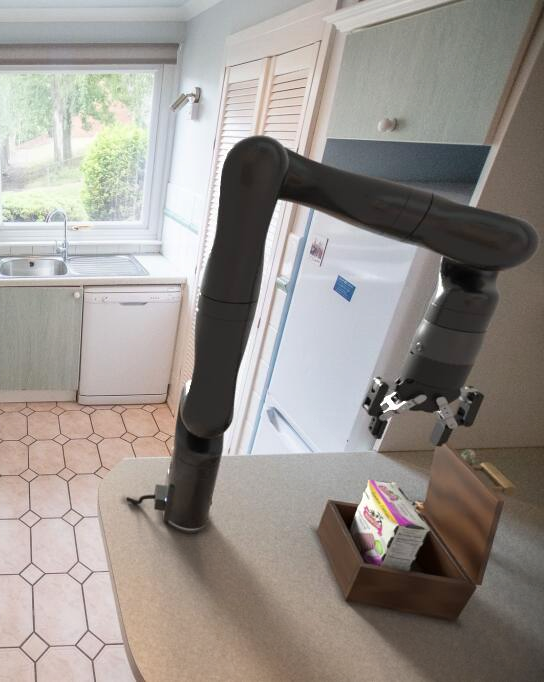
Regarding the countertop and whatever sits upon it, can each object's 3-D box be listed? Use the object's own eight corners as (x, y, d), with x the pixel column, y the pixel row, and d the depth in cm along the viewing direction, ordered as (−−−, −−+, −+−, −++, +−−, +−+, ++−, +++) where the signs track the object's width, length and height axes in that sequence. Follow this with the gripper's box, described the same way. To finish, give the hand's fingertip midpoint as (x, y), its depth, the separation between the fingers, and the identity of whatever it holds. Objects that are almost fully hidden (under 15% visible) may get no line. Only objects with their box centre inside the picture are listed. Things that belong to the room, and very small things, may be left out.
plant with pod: (470, 527, 95) (513, 451, 87) (425, 535, 93) (465, 458, 85) (433, 499, 103) (469, 426, 94) (391, 506, 101) (424, 432, 92)
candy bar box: (341, 541, 91) (367, 477, 84) (369, 545, 90) (397, 481, 83) (367, 591, 81) (398, 524, 74) (398, 596, 80) (433, 529, 73)
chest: (345, 601, 80) (361, 566, 77) (316, 531, 94) (328, 499, 91) (455, 622, 77) (477, 587, 73) (408, 546, 91) (424, 514, 87)
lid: (497, 501, 66) (546, 502, 65) (437, 436, 80) (475, 436, 79) (475, 585, 73) (518, 587, 71) (422, 512, 87) (458, 513, 85)
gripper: (482, 345, 69) (441, 432, 76) (377, 336, 72) (346, 421, 79) (518, 368, 62) (469, 461, 69) (400, 357, 65) (365, 447, 72)
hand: (404, 439), depth 74 cm, fingers open, 8 cm apart
